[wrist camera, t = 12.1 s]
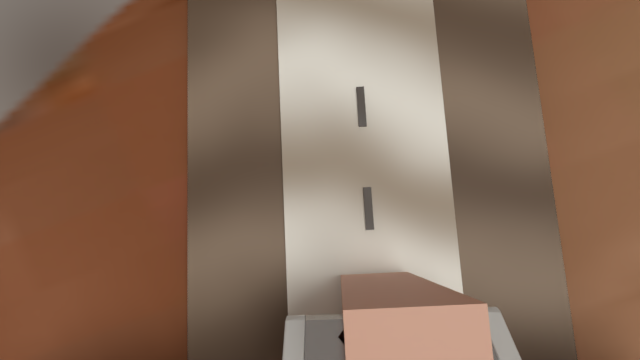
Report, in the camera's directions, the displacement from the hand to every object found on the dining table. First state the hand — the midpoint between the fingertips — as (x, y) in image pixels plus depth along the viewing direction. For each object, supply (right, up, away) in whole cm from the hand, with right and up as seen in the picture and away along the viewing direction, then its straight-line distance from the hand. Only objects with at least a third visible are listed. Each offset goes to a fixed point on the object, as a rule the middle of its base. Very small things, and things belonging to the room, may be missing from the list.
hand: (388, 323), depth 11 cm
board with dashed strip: (0, +3, +6) cm, 7 cm away
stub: (0, -1, +4) cm, 4 cm away
